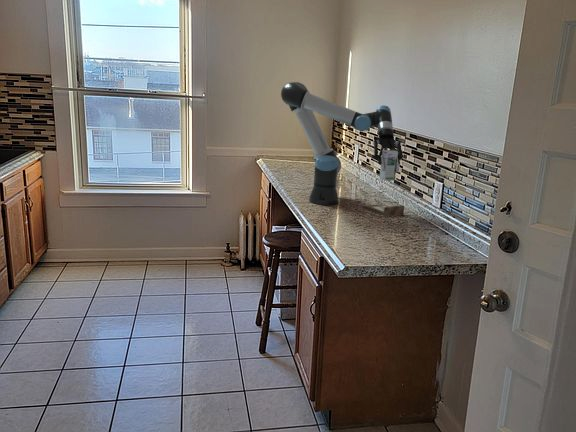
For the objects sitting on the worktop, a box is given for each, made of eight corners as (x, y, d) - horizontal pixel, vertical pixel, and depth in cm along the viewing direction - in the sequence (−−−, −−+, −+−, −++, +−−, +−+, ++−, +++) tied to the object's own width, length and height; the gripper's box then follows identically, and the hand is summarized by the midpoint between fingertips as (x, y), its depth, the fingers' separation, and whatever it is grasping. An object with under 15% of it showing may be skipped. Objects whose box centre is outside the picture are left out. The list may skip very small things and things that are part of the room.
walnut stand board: (385, 216, 246) (386, 207, 245) (363, 208, 259) (364, 200, 258) (403, 214, 253) (404, 205, 251) (381, 206, 265) (382, 198, 264)
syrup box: (384, 180, 249) (387, 151, 245) (379, 178, 254) (382, 149, 250) (394, 181, 250) (398, 151, 247) (389, 178, 256) (392, 149, 252)
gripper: (402, 138, 263) (407, 175, 251) (365, 135, 261) (368, 173, 250) (406, 128, 256) (412, 166, 245) (368, 126, 255) (371, 164, 243)
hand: (390, 169), depth 247 cm, fingers closed on syrup box, 7 cm apart
